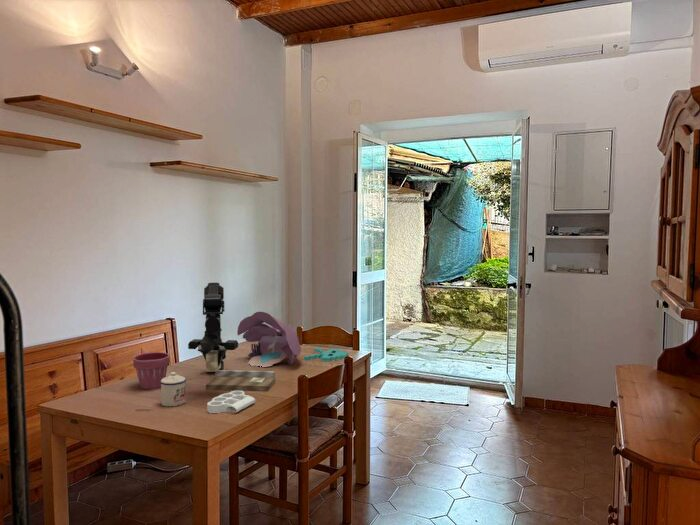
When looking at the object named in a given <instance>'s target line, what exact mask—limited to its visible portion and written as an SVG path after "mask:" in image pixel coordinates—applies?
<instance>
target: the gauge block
mask: <svg viewBox="0 0 700 525" xmlns="http://www.w3.org/2000/svg"><path fill="white" fill-rule="evenodd" d="M220 368H221V364H220V366H218V351H214V350H211V351H210V352H208V353H207V354H206V361H205V373H206V372H216V371H218V370H219V369H220Z"/></svg>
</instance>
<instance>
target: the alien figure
mask: <svg viewBox="0 0 700 525" xmlns="http://www.w3.org/2000/svg"><path fill="white" fill-rule="evenodd" d="M314 351H317V352H320V353H317V352H316V353H315V354H310V355H305V356H304V359H303V360H304V361H310V360H315V359H316V358H319V359H320V360H321V362H331V360H335V361H336V359H341V360H344V359H343V358H344V357H346V356H348V357H349V352H345V351H343V350H341V349H338V348H329V349H328V350H327V351H326V350H324V349H323V350H322V349H321V348H320V347H314V348H313V352H314ZM320 357H321V358H320Z"/></svg>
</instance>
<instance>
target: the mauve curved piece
mask: <svg viewBox="0 0 700 525" xmlns="http://www.w3.org/2000/svg"><path fill="white" fill-rule="evenodd" d="M236 333H237V336H240V335H242V334H243V335H242V339H245V341H246V342H248V343H251V345H250V346H251V347H250V348H251V352H250V353H248V358H249V361H248V365H249V364H250V365H251V366H250V365H249V366H250V367H254V366H255V365H256V366H260V367H259V368H266V367H271V366H273V365H274V364H278V363H281V362H282V361H284V360H285V359H286V358H287V360H286V362H287V364H289V363H290V364H289V365H293V364H294V359H296V358H297V357H298V356H299V355H300V354H301V351H302V349H301V344H300V340H299V337H298V333H297V331H296V330H295V329H294V328H293V327H292V326H291V325H290V324H285V323H284V322H283V321H282V320H279V319H278V318H276V317H275V316H272V315H271V314H270V313H268V312H265V311H257V312H254V313H253V314H251V315H250V316H247V317H244V318H243V319H241V321H240V322H239V324H238V326H237V332H236ZM255 342H257V343H255ZM261 366H262V367H261Z"/></svg>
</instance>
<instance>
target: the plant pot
mask: <svg viewBox="0 0 700 525" xmlns="http://www.w3.org/2000/svg"><path fill="white" fill-rule="evenodd" d="M170 357H171V355H170V353H168V352H160V351H159V352H158V351H156V352H153V351H152V352H151V351H150V352H146V353H145V352H144V353H140V354H137V355H134V357H133V359H132V362H133V364H132V365H133V368H134V369H135V371H136V374H137V378H138V383H139V386H140V389H142V388H144V389H143V390H156V389H159V388H161V383H160V382H161V380H162V379H163V378H165V377H167V371H168V365H170V362H171V360H170V359H171V358H170ZM155 388H156V389H155Z"/></svg>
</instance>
